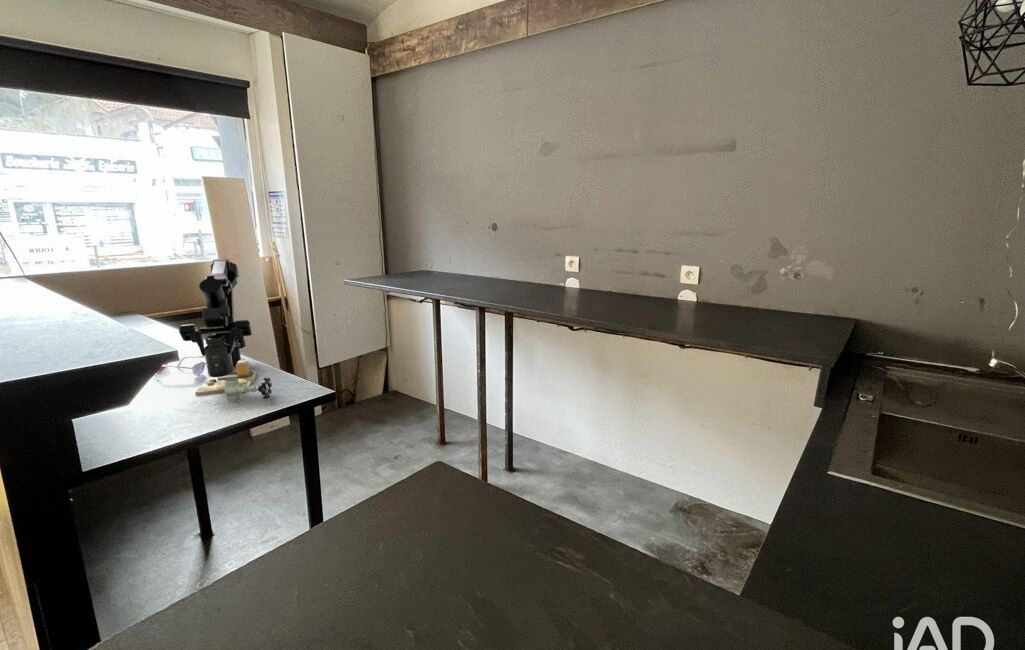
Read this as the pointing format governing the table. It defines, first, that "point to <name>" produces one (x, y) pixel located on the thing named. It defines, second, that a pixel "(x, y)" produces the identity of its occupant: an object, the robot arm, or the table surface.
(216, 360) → the supplement bottle
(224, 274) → the robot arm
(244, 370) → the orange rectangular block
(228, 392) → the valve
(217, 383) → the panel
